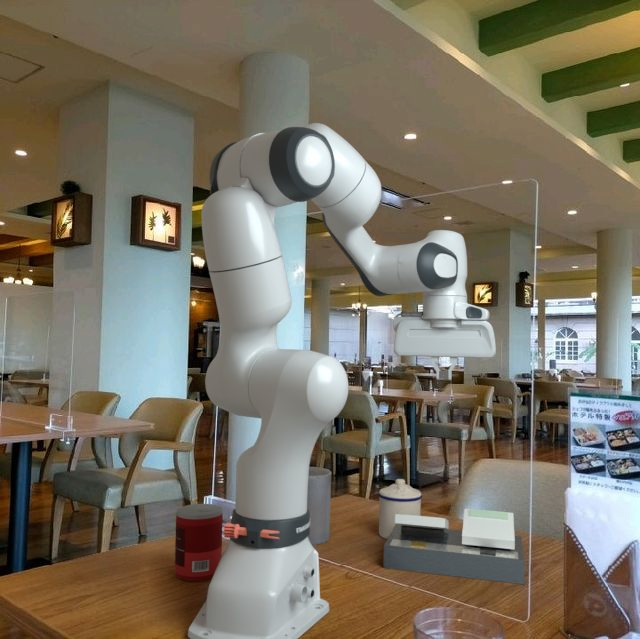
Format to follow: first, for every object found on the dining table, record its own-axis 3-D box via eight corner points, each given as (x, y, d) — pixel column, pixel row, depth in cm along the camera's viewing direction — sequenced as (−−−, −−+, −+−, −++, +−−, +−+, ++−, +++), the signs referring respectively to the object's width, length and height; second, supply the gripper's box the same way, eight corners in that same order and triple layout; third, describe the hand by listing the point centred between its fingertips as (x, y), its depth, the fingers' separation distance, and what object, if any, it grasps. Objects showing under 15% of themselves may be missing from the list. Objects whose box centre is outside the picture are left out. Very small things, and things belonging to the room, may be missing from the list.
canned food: (230, 571, 109) (231, 507, 109) (199, 586, 102) (201, 518, 102) (196, 562, 113) (198, 501, 113) (164, 576, 106) (166, 510, 106)
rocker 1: (444, 527, 112) (445, 516, 113) (395, 523, 114) (395, 512, 115) (448, 529, 121) (448, 519, 122) (402, 524, 124) (402, 514, 124)
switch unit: (524, 584, 105) (524, 551, 105) (383, 567, 112) (384, 537, 112) (521, 557, 119) (521, 528, 119) (395, 544, 125) (395, 516, 125)
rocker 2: (514, 549, 109) (514, 539, 109) (461, 544, 111) (461, 534, 111) (513, 520, 118) (513, 511, 118) (464, 516, 121) (464, 507, 121)
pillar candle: (273, 536, 129) (275, 463, 129) (310, 527, 135) (311, 458, 135) (302, 549, 121) (304, 471, 122) (340, 539, 128) (341, 466, 128)
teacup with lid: (430, 539, 129) (430, 482, 129) (391, 544, 125) (392, 485, 125) (399, 523, 140) (400, 471, 140) (363, 527, 136) (364, 474, 136)
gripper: (391, 310, 126) (390, 378, 126) (496, 310, 121) (495, 382, 120) (396, 312, 132) (395, 377, 132) (496, 312, 127) (495, 380, 126)
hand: (444, 379), depth 126 cm, fingers closed
